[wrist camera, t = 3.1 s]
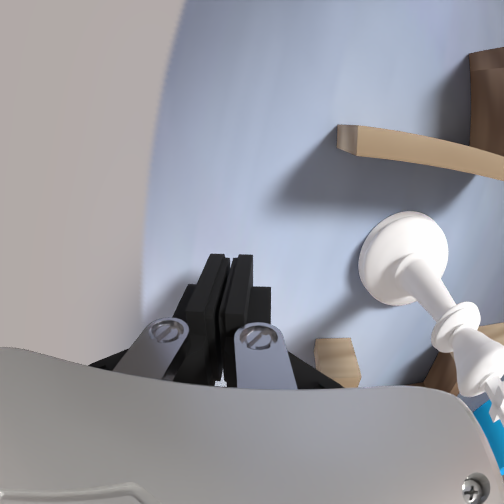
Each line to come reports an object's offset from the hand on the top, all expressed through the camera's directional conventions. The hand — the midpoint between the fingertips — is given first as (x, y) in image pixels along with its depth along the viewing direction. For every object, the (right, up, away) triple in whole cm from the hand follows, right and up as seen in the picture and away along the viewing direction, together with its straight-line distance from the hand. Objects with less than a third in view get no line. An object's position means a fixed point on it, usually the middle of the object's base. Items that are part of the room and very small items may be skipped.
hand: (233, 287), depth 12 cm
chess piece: (+8, +1, +2) cm, 8 cm away
